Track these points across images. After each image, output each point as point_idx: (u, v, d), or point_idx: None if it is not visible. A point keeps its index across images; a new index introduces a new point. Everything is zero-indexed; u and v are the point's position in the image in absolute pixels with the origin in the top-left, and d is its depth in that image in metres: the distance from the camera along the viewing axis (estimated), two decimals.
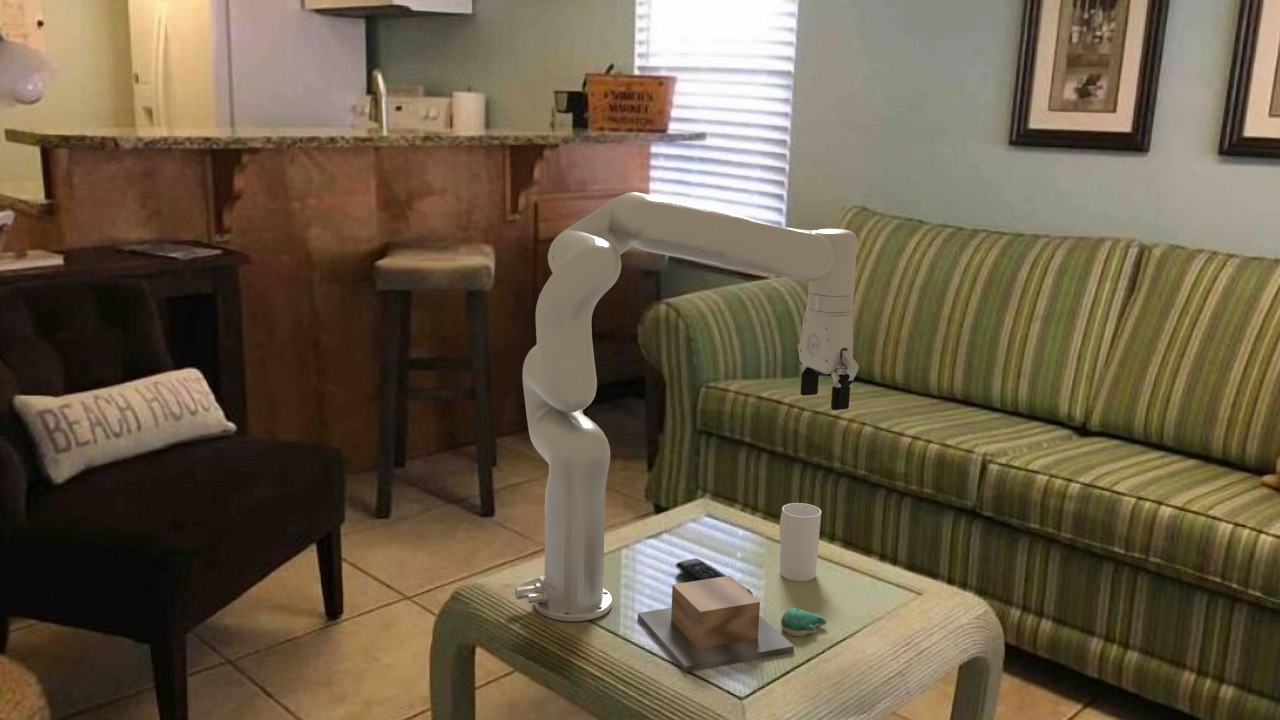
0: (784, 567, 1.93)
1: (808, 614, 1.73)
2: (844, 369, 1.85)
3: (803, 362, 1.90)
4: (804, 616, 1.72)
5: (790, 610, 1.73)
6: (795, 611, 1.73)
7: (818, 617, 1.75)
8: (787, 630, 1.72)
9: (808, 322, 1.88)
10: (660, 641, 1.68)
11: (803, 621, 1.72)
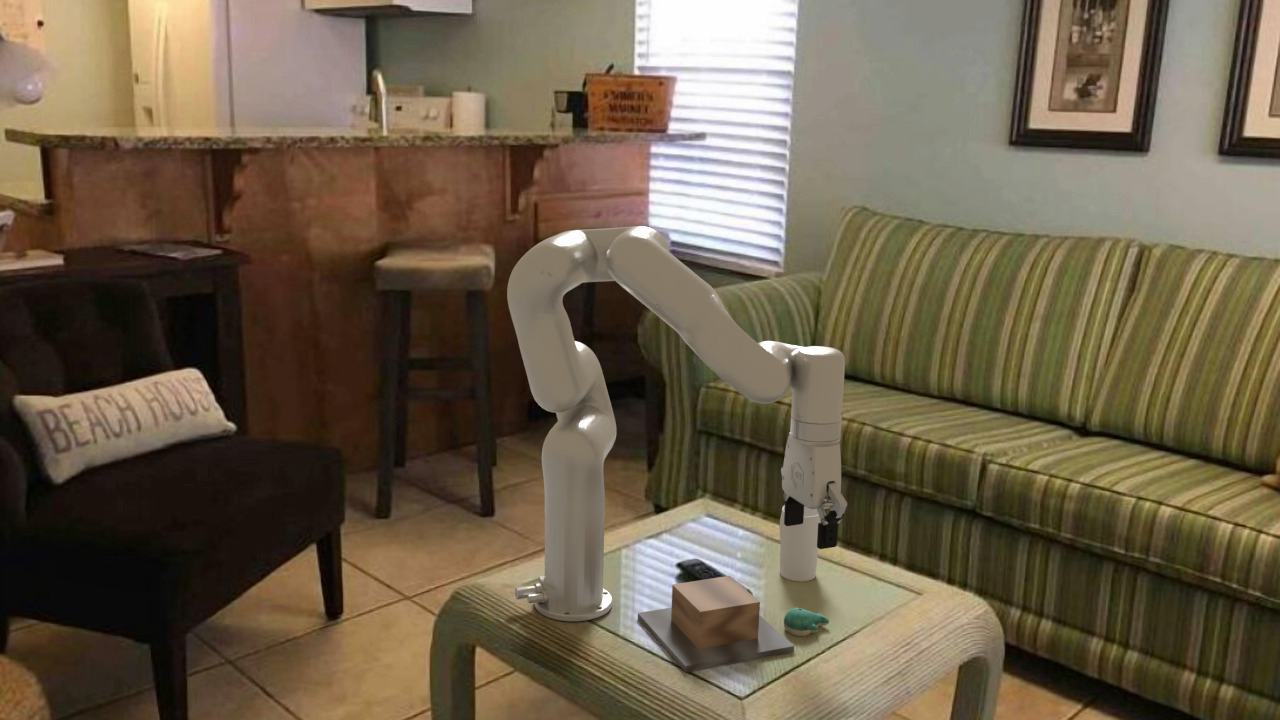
0: (784, 567, 1.93)
1: (811, 613, 1.74)
2: (831, 503, 1.65)
3: (786, 492, 1.71)
4: (807, 616, 1.72)
5: (793, 610, 1.73)
6: (798, 611, 1.73)
7: (821, 616, 1.75)
8: (790, 630, 1.72)
9: (791, 449, 1.69)
10: (660, 641, 1.68)
11: (806, 620, 1.72)
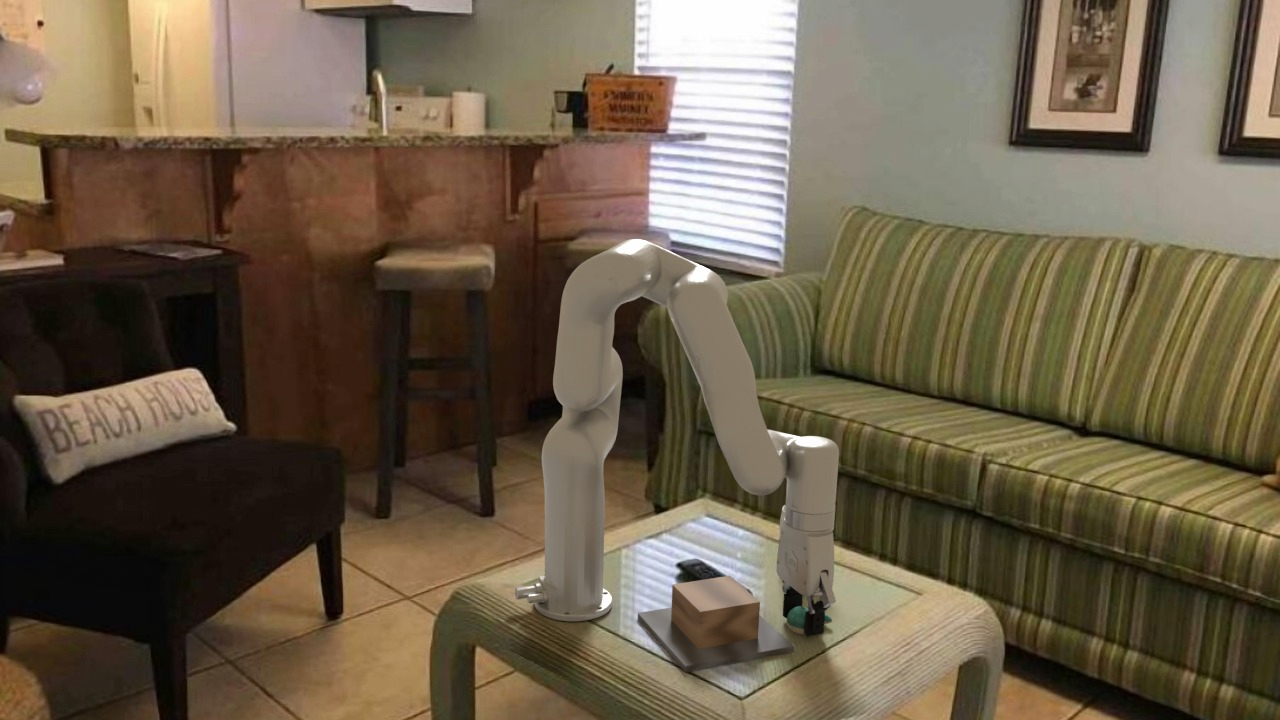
0: None
1: None
2: (821, 593, 1.70)
3: (780, 576, 1.74)
4: None
5: (796, 608, 1.74)
6: (801, 609, 1.73)
7: None
8: (793, 628, 1.72)
9: (786, 535, 1.72)
10: (660, 641, 1.68)
11: None
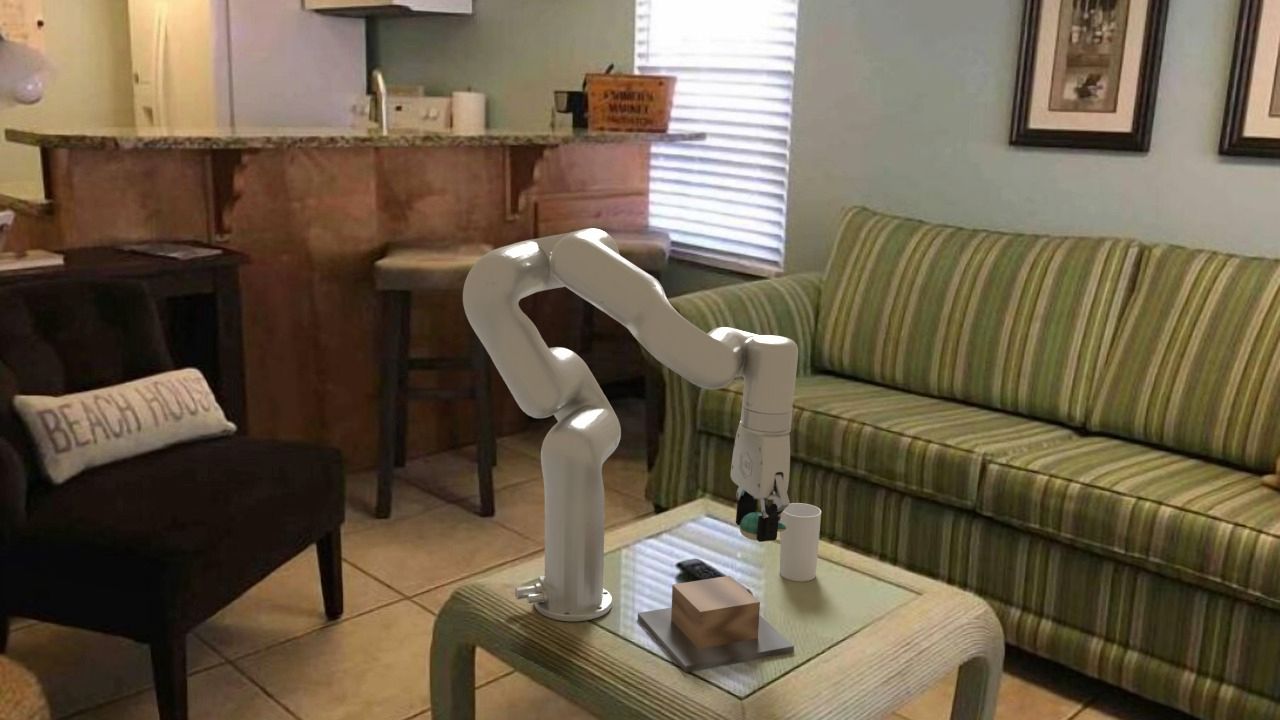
0: (784, 567, 1.93)
1: None
2: (775, 497, 1.65)
3: (734, 481, 1.69)
4: None
5: (749, 514, 1.69)
6: (754, 515, 1.68)
7: (778, 522, 1.70)
8: (746, 534, 1.67)
9: (741, 438, 1.67)
10: (660, 641, 1.68)
11: None
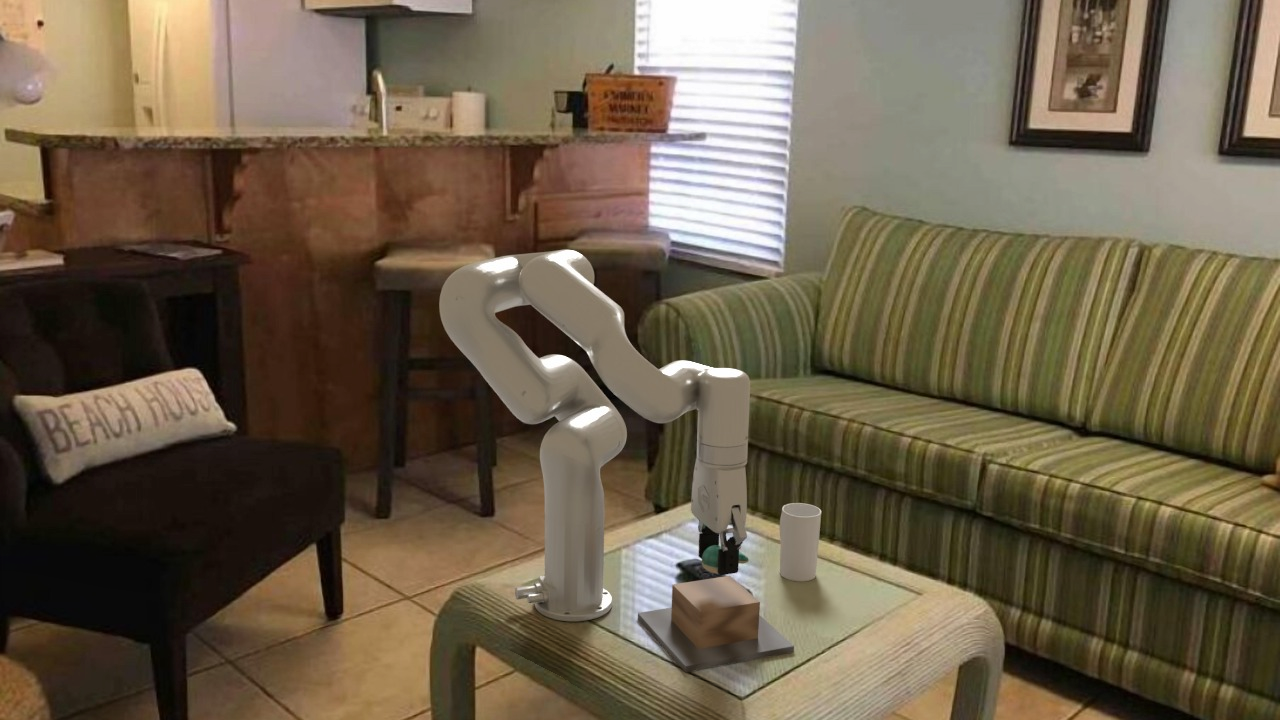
0: (784, 567, 1.93)
1: None
2: None
3: (694, 515, 1.69)
4: None
5: (710, 547, 1.68)
6: (715, 548, 1.68)
7: (740, 554, 1.70)
8: (707, 567, 1.67)
9: (698, 471, 1.67)
10: (660, 641, 1.68)
11: None
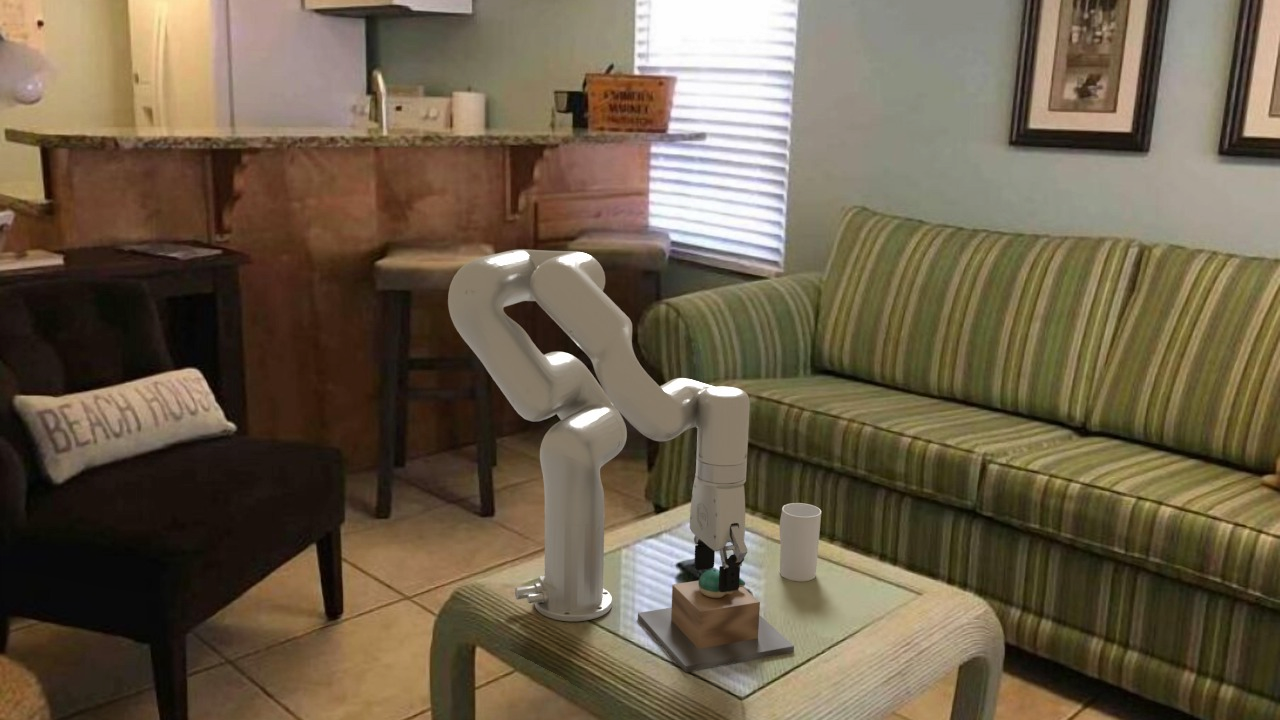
0: (784, 567, 1.93)
1: None
2: None
3: (693, 532, 1.70)
4: None
5: (707, 571, 1.69)
6: (712, 572, 1.69)
7: None
8: (704, 591, 1.68)
9: (697, 489, 1.67)
10: (660, 641, 1.68)
11: None
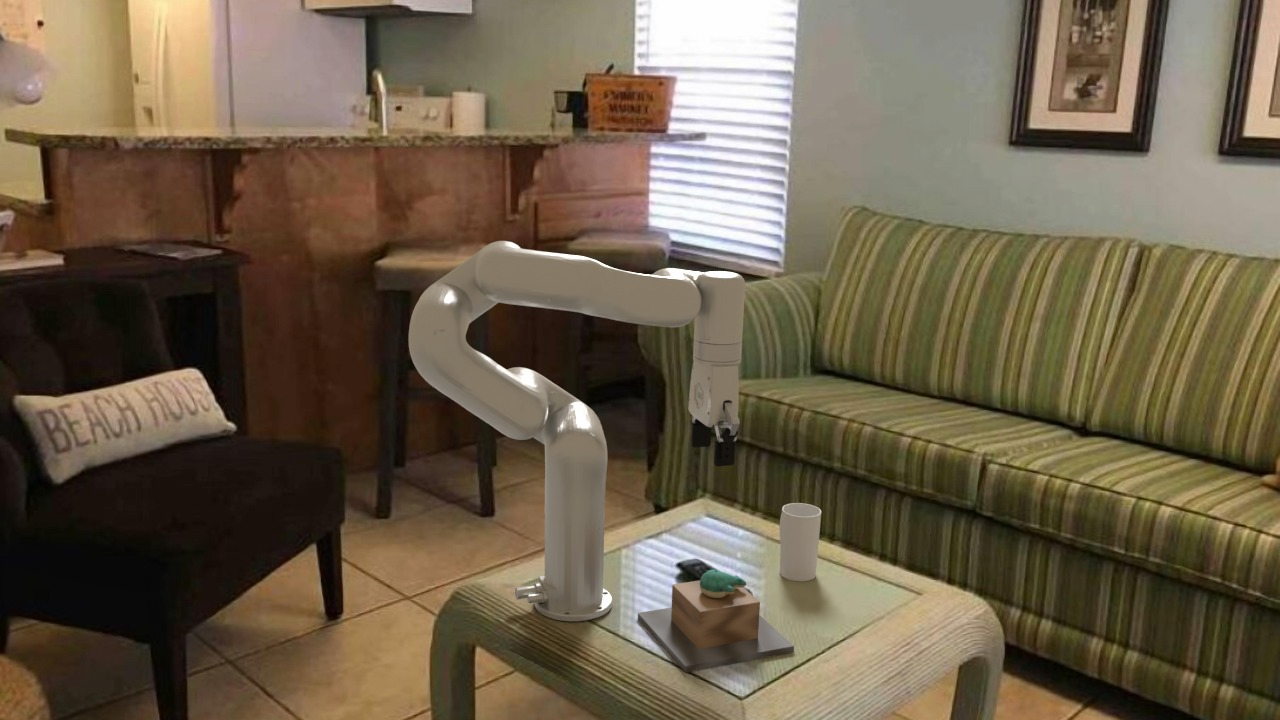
0: (784, 567, 1.93)
1: (727, 575, 1.69)
2: None
3: (691, 412, 1.78)
4: (723, 577, 1.68)
5: (708, 571, 1.69)
6: (713, 572, 1.69)
7: (738, 578, 1.71)
8: (705, 591, 1.68)
9: (695, 370, 1.75)
10: (660, 641, 1.68)
11: (721, 581, 1.68)
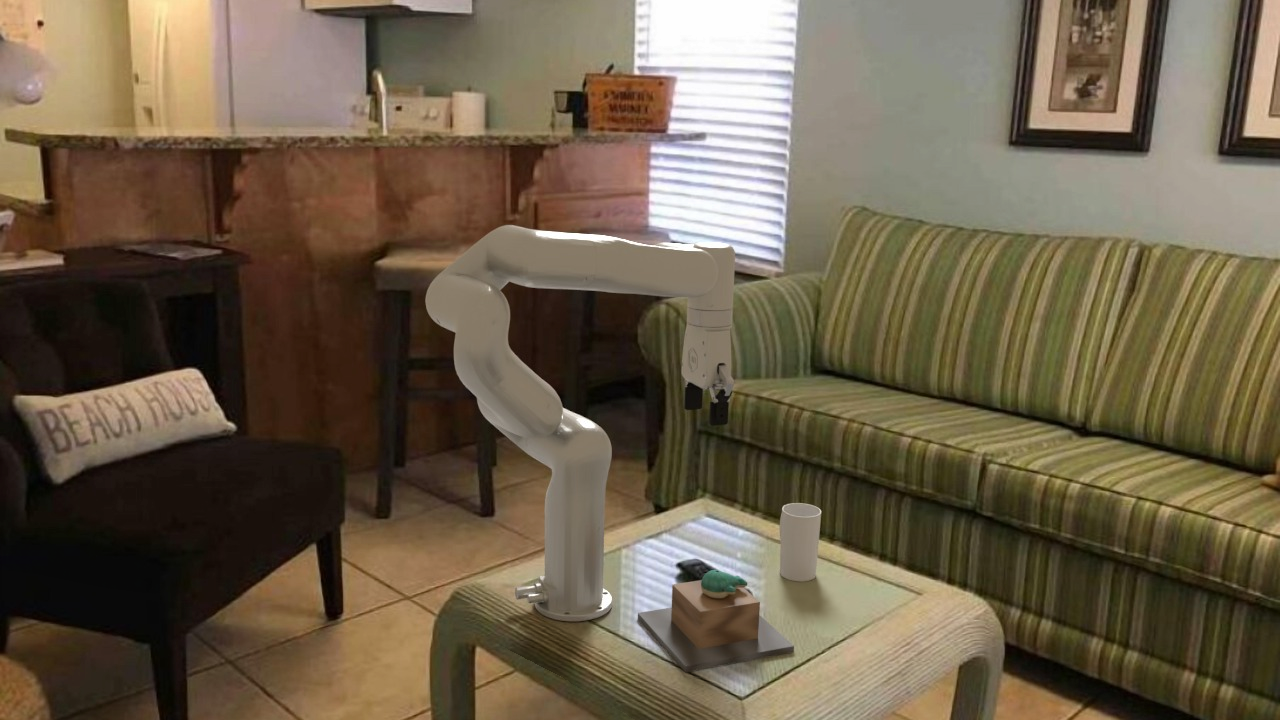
0: (784, 567, 1.93)
1: (728, 575, 1.69)
2: (722, 384, 1.83)
3: (684, 376, 1.88)
4: (724, 578, 1.68)
5: (710, 572, 1.69)
6: (715, 572, 1.69)
7: (739, 579, 1.71)
8: (707, 592, 1.68)
9: (688, 336, 1.86)
10: (660, 641, 1.68)
11: (723, 582, 1.68)
